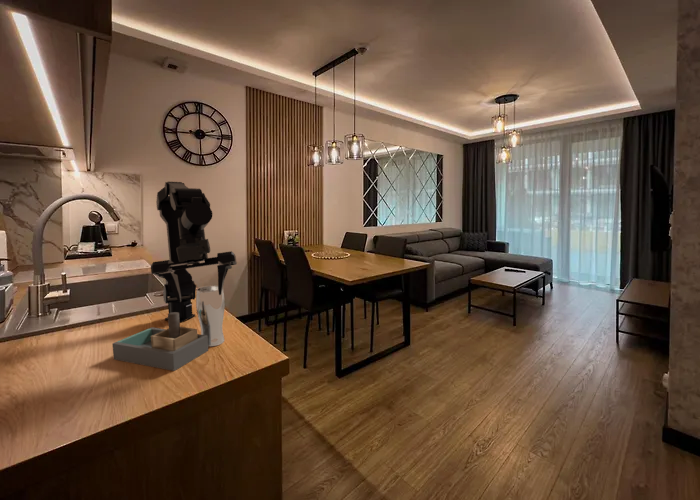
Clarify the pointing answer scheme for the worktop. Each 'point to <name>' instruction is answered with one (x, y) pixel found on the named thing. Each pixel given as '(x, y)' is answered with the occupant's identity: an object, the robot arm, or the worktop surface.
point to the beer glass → (211, 313)
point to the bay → (157, 351)
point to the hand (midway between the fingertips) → (200, 298)
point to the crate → (173, 335)
